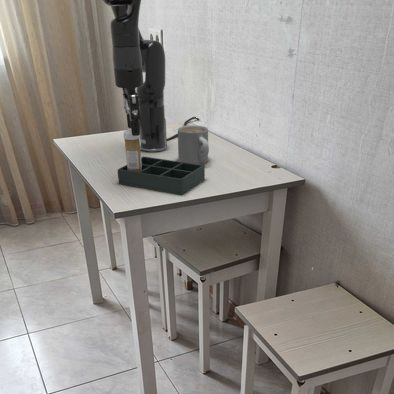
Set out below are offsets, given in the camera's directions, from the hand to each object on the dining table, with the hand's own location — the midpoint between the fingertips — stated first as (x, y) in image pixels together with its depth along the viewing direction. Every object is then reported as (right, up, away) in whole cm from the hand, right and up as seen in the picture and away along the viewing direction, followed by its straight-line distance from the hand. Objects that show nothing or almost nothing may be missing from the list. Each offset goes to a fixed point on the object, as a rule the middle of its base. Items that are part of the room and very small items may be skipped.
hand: (133, 131), depth 136 cm
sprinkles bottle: (-1, -11, +8) cm, 14 cm away
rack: (+7, -11, +9) cm, 16 cm away
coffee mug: (+17, +1, +24) cm, 30 cm away
